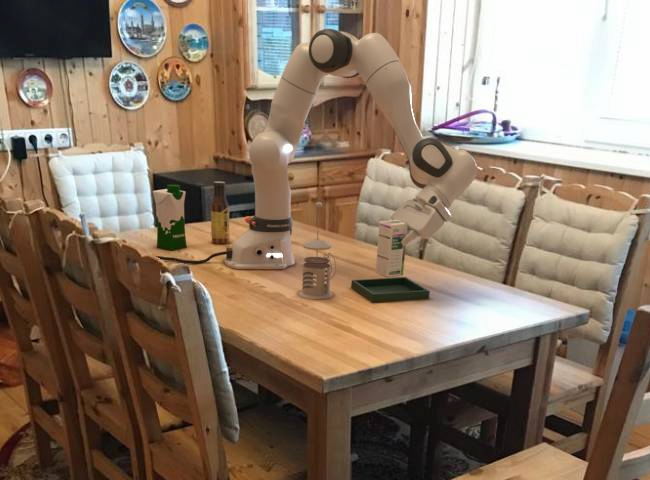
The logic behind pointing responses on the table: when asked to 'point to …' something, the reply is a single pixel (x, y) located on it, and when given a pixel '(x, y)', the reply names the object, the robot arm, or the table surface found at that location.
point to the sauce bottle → (219, 215)
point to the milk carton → (170, 217)
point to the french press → (317, 269)
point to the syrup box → (391, 248)
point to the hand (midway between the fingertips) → (396, 241)
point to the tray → (389, 289)
